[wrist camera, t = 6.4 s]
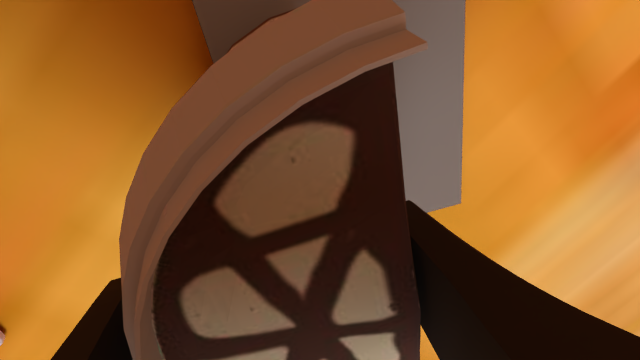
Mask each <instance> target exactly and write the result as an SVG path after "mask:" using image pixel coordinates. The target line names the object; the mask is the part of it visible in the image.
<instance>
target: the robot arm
mask: <svg viewBox="0 0 640 360" xmlns="http://www.w3.org/2000/svg"><path fill="white" fill-rule="evenodd" d="M406 207H407V215H408V223H409V231H410V239H411V247H412V255H413V262H414V269H415V275H416V282H417V289H418V296H419V303H420V314H421V318H420V324H421V326H422V328H423V330H424V332H425V333H426V335H427V337H428V339H429V341H430V343H431V344H432V346H433V348H434V350H435V352H436V354H437V356H438V357H439V359H440V360H640V337H638V336H636V335H634V334H632V333H629V332H627V331H625V330H623V329H621V328H618V327H616V326H614V325H612V324H609V323H607V322H605V321H603V320H601V319H598V318H596V317H594V316H592V315H589V314H587V313H585V312H583V311H581V310H579V309H577V308H575V307H573V306H571V305H569V304H567V303H565V302H563V301H561V300H559V299H558V298H556V297H554V296H552V295H550V294H548V293H546V292H545V291H543V290H541V289H539V288H537V287H535V286H534V285H532V284H530V283H528V282H527V281H525V280H523V279H522V278H520V277H518V276H517V275H515V274H513V273H512V272H510V271H508V270H507V269H505V268H504V267H502V266H500V265H499V264H497V263H496V262H494V261H493V260H491V259H490V258H488V257H487V256H485V255H483V254H482V253H481V252H479V251H478V250H476V249H475V248H473V247H472V246H470V245H469V244H468V243H466V242H465V241H463V240H462V239H460V238H459V237H458V236H456V235H455V234H454V233H452V232H451V231H449V230H448V229H447V228H445V227H444V226H443V225H441V224H440V223H439V222H438V221H436V220H435V219H434V218H432V217H431V216H430V215H429V214H427V213H426V212H425V211H423V210H422V209H421V208H420V207H418V206H417V205H416V204H415V203H413V202H412V201H410V200H407V201H406ZM4 340H5V335H4V334H3V333H2V332H1V331H0V346H1V345H2V343H3V341H4ZM51 360H133V358H132V355H131V352H130V349H129V345H128V342H127V339H126V336H125V332H124V326H123V306H122V286H121V278H118V279H115V280H111V281H110V282H109V283H108V285H107V286H106V287H105V288H104V290H103V291H102V292H101V293H100V295H99V296H98V297H97V299H96V300H95V301H94V303H93V304H92V305H91V307H90V308H89V309H88V311H87V312H86V313H85V315H84V316H83V317H82V319H81V320H80V321H79V323H78V324H77V325H76V327H75V328H74V329H73V331H72V332H71V333H70V335H69V336H68V337H67V339H66V340H65V341H64V343H63V344H62V345H61V347H60V348H59V349H58V351H57V352H56V353H55V355H54V356H53V357H52V358H51Z"/></svg>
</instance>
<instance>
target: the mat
mask: <svg viewBox="0 0 640 360" xmlns="http://www.w3.org/2000/svg"><path fill="white" fill-rule="evenodd" d="M309 1H311V0H192V2H193V5H194V8H195V11H196V14H197V16H198V19H199V22H200V25H201V28H202V31H203V34H204V37H205V40H206V43H207V46H208V49H209V52H210V55H211V57H212V60H213V63H215V62H217V61H218V60H219V59H221V58H222V57H223V56H224V55H225V54H226V53H227V52H228V50H229V49H230V47H231V46H232V44H234V43H235V42H236V41H238V40H239V39H241V38H242V37H243V36H245V35H246V34H247V33H249V32H250V31H252V30H253V29H254V28H256V27H257V26H258V25H260V24H261V23H262V22H264V21H265V20H267V19H268V18H270V17H273V16H276V15H279V14H282V13H284V12H287V11H290V10H293V9H296V8H298V7H300V6H302V5H304V4H306V3H307V2H309ZM392 1H393V2H395V3H396V4H397V5H398V6H399V7H400V8H401V9H402V10H403V11H405V16H406V30H408V31H410V32H411V33H413V34H415V35H416V36H418V37H420V38H421V39H423V40H425V41H426V42H428V49H427V50H424V51H421V52H418V53H415V54H413V55H410V56H407V57H404V58H402V59H399V60H396V61H393V67H394V78H395V89H396V99H397V110H398V121H399V132H400V143H401V154H402V165H403V176H404V187H405V198H406V201H407V200H410V201H412V202H413V203H415V204H416V205H417V206H418V207H420V208H421V209H422V210H423V211H425V212H426V213H427V212H431V211H434V210H438V209H442V208H445V207H449V206H453V205H456V204H460V203H461V174H462V128H463V83H464V37H465V0H392Z"/></svg>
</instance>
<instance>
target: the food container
mask: <svg viewBox="0 0 640 360" xmlns="http://www.w3.org/2000/svg"><path fill="white" fill-rule="evenodd" d="M427 49H428V42H426V41H425V40H423V39H421V38H420V37H418V36H416V35H415V34H413V33H411V32H410V31H408V30H406V16H405V11H403V10H402V9H401V8H400V7H399V6H398V5H397V4H396V3H395V2H393V1H392V0H311V1H309V2H307V3H306V4H304V5H302V6H300V7H298V8H296V9H293V10H290V11H287V12H284V13H282V14H279V15H276V16H273V17H270V18H268V19H267V20H265V21H264V22H262V23H261V24H260V25H258V26H257V27H256V28H254V29H253V30H252V31H250V32H249V33H247V34H246V35H245V36H243V37H242V38H241V39H239V40H238V41H236V42H235V43H234V44H232V46H231V47H230V49H229V50H228V52H227V53H226V54H225V55H224V56H223V57H222V58H221V59H219V60H218V61H217V62H215V63H214V64H213V65H212V66H210V67H209V68H208V70H207V71H206V72H205V73H204V74H203V75H202V76H201V77H200V78H199V79H198V80H197V82H196V83H195V84H194V85H193V86H192V87H191V88H190V89H189V90H188V91H187V92H186V94H185V95H184V96H183V97H182V98H181V99H180V100H179V101H178V102H177V103H176V104H175V106H174V107H173V108H172V109H171V110H170V112H169V114H168V115H167V117H166V118H165V120H164V122H163V123H162V125H161V126H160V128H159V129H158V131H157V133H156V134H155V136H154V137H153V139H152V141H151V142H150V144H149V145H148V147H147V148H146V150H145V152H144V153H143V156H142V158H141V161H140V163H139V166H138V168H137V171H136V174H135V176H134V179H133V181H132V184H131V186H130V189H129V192H128V194H127V197H126V202H125V208H124V214H123V220H122V226H121V232H120V238H119V244H120V265H121V286H122V306H123V326H124V332H125V336H126V339H127V342H128V345H129V349H130V352H131V355H132V358H133V360H420V318H421V314H420V303H419V296H418V289H417V282H416V275H415V269H414V262H413V255H412V247H411V239H410V231H409V223H408V215H407V207H406V198H405V187H404V176H403V165H402V154H401V143H400V132H399V121H398V110H397V99H396V89H395V78H394V67H393V61H396V60H399V59H402V58H404V57H407V56H410V55H413V54H415V53H418V52H421V51H424V50H427Z"/></svg>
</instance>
